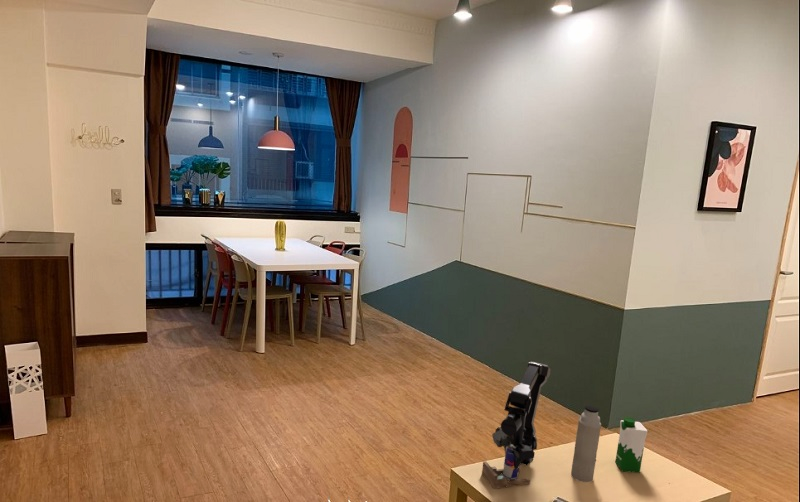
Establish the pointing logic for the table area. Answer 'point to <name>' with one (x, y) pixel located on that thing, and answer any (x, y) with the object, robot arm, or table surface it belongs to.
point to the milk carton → (630, 445)
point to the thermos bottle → (586, 445)
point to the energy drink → (510, 464)
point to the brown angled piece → (499, 477)
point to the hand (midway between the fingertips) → (511, 463)
